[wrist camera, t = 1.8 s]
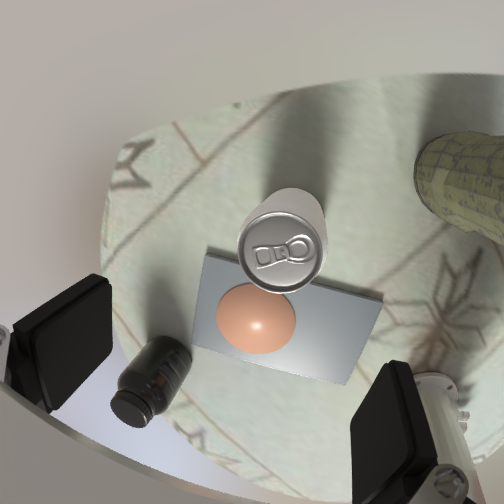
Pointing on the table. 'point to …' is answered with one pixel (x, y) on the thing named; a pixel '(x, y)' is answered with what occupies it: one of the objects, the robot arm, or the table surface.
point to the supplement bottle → (151, 381)
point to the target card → (282, 323)
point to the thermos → (464, 181)
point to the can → (283, 241)
